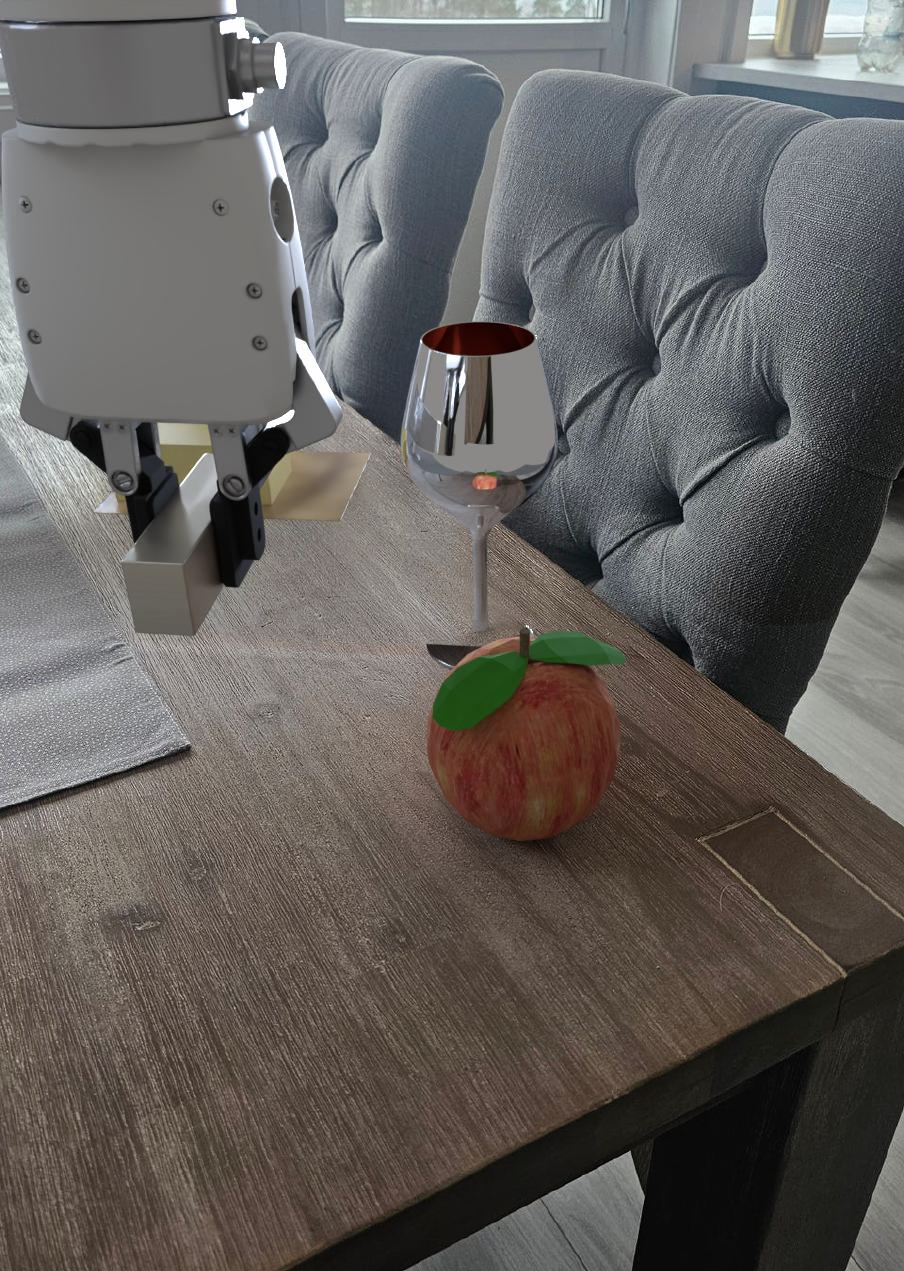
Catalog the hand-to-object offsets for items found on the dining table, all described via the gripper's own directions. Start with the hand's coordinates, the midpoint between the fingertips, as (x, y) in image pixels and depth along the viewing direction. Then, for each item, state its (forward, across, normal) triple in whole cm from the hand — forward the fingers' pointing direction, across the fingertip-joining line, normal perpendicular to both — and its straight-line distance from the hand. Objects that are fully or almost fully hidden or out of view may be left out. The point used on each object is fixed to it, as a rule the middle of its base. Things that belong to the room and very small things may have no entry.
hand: (204, 566), depth 45 cm
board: (+13, +10, -33) cm, 36 cm away
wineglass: (+12, -11, -14) cm, 21 cm away
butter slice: (+11, +7, -32) cm, 34 cm away
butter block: (+12, +14, -32) cm, 36 cm away
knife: (0, 0, -5) cm, 5 cm away
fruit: (+12, -14, 0) cm, 19 cm away
